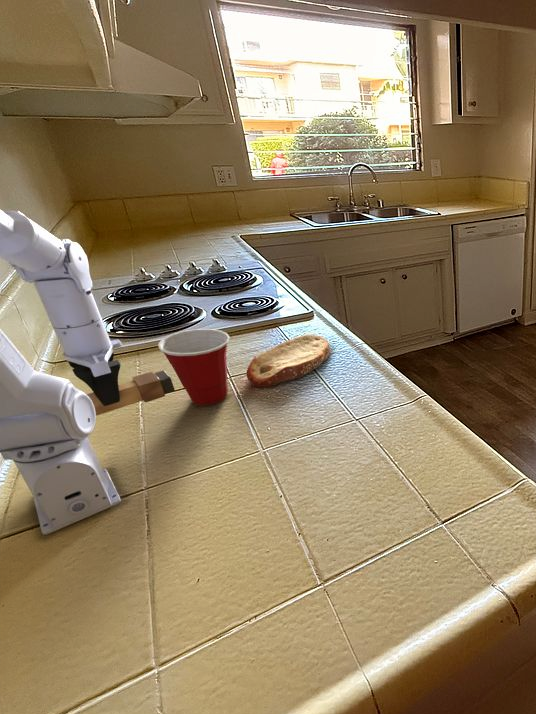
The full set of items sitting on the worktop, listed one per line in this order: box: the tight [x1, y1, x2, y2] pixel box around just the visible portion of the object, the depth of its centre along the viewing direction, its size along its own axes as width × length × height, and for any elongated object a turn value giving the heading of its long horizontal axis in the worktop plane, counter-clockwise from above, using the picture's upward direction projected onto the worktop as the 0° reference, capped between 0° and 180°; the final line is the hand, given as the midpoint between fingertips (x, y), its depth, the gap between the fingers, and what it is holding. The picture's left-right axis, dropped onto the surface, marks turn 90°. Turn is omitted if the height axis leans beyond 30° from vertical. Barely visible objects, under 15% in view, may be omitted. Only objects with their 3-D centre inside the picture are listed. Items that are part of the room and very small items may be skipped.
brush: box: [85, 370, 176, 417], centre depth 76 cm, size 13×4×3 cm, turn 136°
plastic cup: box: [157, 328, 231, 407], centre depth 83 cm, size 11×11×12 cm
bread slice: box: [246, 333, 332, 388], centre depth 98 cm, size 18×18×4 cm
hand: (109, 400), depth 75 cm, fingers closed on brush, 2 cm apart
